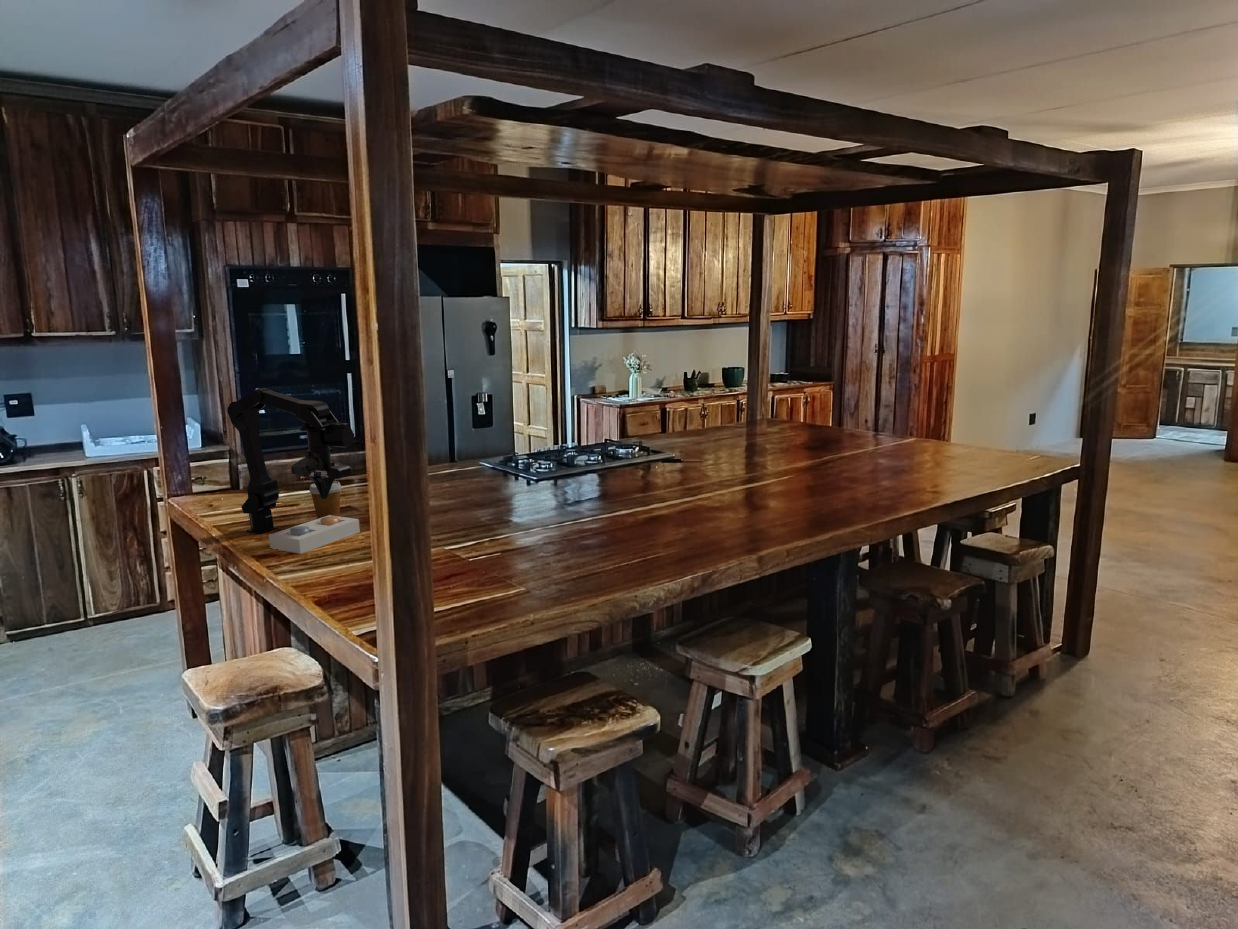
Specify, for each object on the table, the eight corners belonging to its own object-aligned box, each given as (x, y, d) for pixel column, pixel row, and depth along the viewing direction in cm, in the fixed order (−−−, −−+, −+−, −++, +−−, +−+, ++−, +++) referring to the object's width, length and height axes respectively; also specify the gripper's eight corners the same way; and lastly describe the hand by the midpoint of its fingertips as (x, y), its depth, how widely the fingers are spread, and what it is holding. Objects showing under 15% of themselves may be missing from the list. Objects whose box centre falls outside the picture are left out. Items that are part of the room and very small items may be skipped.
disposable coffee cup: (311, 527, 255) (307, 489, 252) (313, 519, 263) (309, 482, 261) (344, 524, 257) (340, 486, 255) (345, 516, 266) (341, 479, 264)
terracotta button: (317, 529, 244) (316, 520, 244) (330, 525, 249) (329, 515, 248) (330, 531, 242) (328, 521, 241) (343, 527, 246) (342, 517, 246)
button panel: (270, 548, 234) (268, 534, 233) (330, 527, 253) (329, 515, 252) (300, 553, 229) (299, 539, 228) (359, 532, 248) (358, 519, 247)
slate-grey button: (287, 540, 235) (285, 530, 234) (301, 535, 239) (300, 525, 238) (299, 542, 232) (298, 532, 232) (313, 537, 237) (312, 527, 236)
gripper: (273, 448, 238) (279, 502, 241) (320, 453, 229) (326, 508, 232) (304, 442, 247) (309, 493, 250) (350, 446, 239) (355, 499, 242)
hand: (324, 498), depth 243 cm, fingers closed
